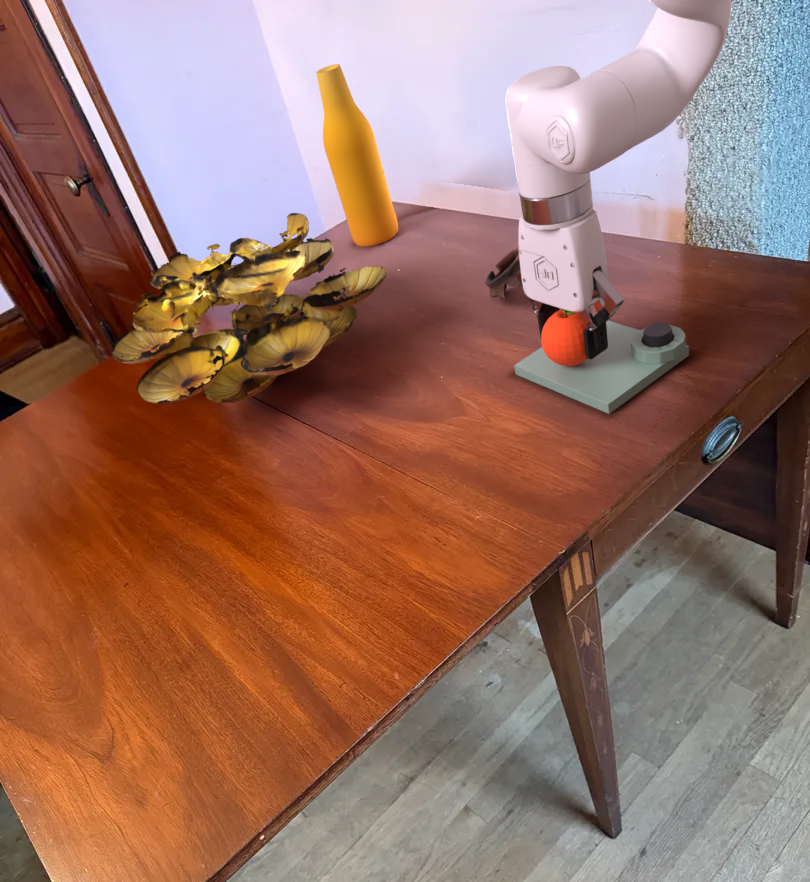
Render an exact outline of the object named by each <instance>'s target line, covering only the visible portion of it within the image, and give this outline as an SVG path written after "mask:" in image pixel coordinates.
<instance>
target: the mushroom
mask: <svg viewBox="0 0 810 882" xmlns="http://www.w3.org/2000/svg"><path fill="white" fill-rule="evenodd" d="M286 219H287V221H286V230H285V231H283V232H282V233H281V232H280V233H279V236H280V237H281V239H282V241H281V242H280V243H279V244H277V245H275V246H271V245H268V244H266V243H264V242H262V241H259V240H257V239H254V238H249V237H239V238H237V239H235V240H234V241H232V242H231V243H230V244H229V251H228V253H227V254H222V253H221V252H219V251H215V250H218V249H219V248H220V247H221V245H220V244H219V243H213V244H211V245H209V246H207V247H206V249H207V250H208V251H209V250H210V254H209V256H206V258H204V259H202V260H201V261H200V260H196V259H195V258H193V257H189V255H188V254H187V253H181V251H177V252H176V253H174V254H172V255H170V256H169V258H168V259H169V261H168V262H166V263H163V264H161V265H160V267H159V268H157V269H152V268H150V271H151V273H150V279H149V283H150V285H151V286H152V287H153V288H155V289H157V290H159V292H160V291H161V293H160V294H159V295H155V296H154V295H153V294H156V292H155V291H152V292H151V291H150V292H147V293H143V294H140V297H141V300H140V301H139V302H138V303H137V302H134V309H133V311H132V313H133V314H132V327H130V328H129V330H128V331H127V333H123V334H122V335H120V336H119V338H117V340H116V341H115V342H114V344H113V345H112V346H111V348H112V350H111V351H110V353H111V354H110V355H111V356H112V358H113V359H114V360H115V361H118V362H119V363H122V364H126V365H136V364H137V365H138V364H144V363H148V362H151V361H154V360H157V359H159V358H161V359H159V360H157V361H156V362H154V363H153V364H152V366H150V367H149V368H148V369H147V370H146V371H145V372H144V373H143V374H142V375H141V377H140V378H139V380H138V382H137V384H136V391H137V393H138V395H139V397H140V398H141V399H142V400H144V401H146V402H148V403H153V404H175V403H178V402H182V401H186V400H189V399H190V398H193V397H194V396H196V395H198V394H201V393H202V392H203V394H204V396H205V397H206V399H207V400H209V401H211V402H214V403H217V404H229V403H230V404H231V403H232V404H233V403H238V402H241V401H245V400H248V399H250V398H252V397H254V396H256V395H258V394H259V393H262V392H263V391H264V390H266V389H267V388H268V387H269V386H270V385H271V384H272V383H273V382H274V381H275V380H276V379H277V378H278V377H279V376H281V375H284V374H287V373H290V372H293V371H296V370H298V369H299V368H302V367H304V366H306V365H307V364H309V363H310V362H311V361H312V360H314V359H315V358H316V357H317V355H318V354H319V353H320V352H321V351H322V350H323V348H325V347H327V346H329V345H331V344H333V343H336V342H337V341H339V340H340V339H341V338H342V337H343V336H345V335H346V334H347V333H348V332H349V331H350V329H351V328H352V327H353V325H354V323H355V321H356V320H357V318H358V310H357V308H356V307H355V306H354V305H357V304H359V303H361V302H362V301H365V300H366V299H367V298H368V297H370V296H371V295H372V294H373V293H374V292H375V291H376V290H377V289H378V288H379V287H380V286H381V284H382V283H383V282H384V280H385V279H386V277H387V274H388V272H387V269H388V268H387V266H384V267H383V265H381V266H378V265H376V266H374V267H373V266H369V265H368V266H362V268H359V269H358V268H357V269H352V270H349V271H345V270H346V269H347V267H343V268H341V269H340V270H339V273H338V274H333V275H329V276H328V277H326V278H324V279H323V280H321V281H317V282H316V284H315V286H313V287H312V288H311V289H310V290H309V291H308V293H307V296H306V297H304V298H303V297H302V296H300V295H299V294H291V293H288V292H286V293H284V292H285V290H286V288H287V286H288V285H289V284H290V283H291V282H294V281H299V280H303V279H305V278H309V277H311V276H312V275H314V274H316V273H319V274H320V273H321V272H322V271H324V269H325V266H326V265H328V263H329V262H330V261H331V260H332V258H333V257H334V254H335V248H334V245H333V243H332V241H331V240H330V239H329V238H326V237H325V239H315V240H314V238H313V237H309V238H306V237H308V233H309V230H310V227H309V224H310V222H309V218H308V217H307V216H306V215H305V214H303V213H300V212H299V213H298V212H291V213H289V214H288V215H286ZM295 235H296V237H294V236H295ZM292 237H293V238H292ZM305 239H306V241H304V240H305ZM236 257H238V258H240V259H242V261H241V262H240V263H237V264H232V263H233V260H234V259H235V258H236ZM340 296H341V297H340ZM231 304H235V305H236V308H234V309H233V310H231V311H230V317H231V325H232V326H231V327H232V328H221V329H218V330H210V331H208V332H205V333H204V334H201V335H198V336H195V337H194V335H197V334H199V333H200V330H199V328H198V327H196V326H199V325H202V321H201V320H198V319H204V317H203V314H205V313H207V312H208V310H209V309H211V308H215V307H227V306H229V305H231ZM240 304H243V305H242V306H240ZM145 305H146V306H145ZM239 306H240V307H239ZM138 309H139V310H138ZM297 315H299V316H297ZM244 336H246V337H245V339H244Z"/></svg>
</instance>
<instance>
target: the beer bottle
mask: <svg viewBox="0 0 810 882" xmlns="http://www.w3.org/2000/svg"><path fill="white" fill-rule="evenodd" d="M315 74H316V79H317V84H318V89H319V93H320V98H321V103H322V108H323V125H322V141H323V142H322V143H323V148H324V152H325V155H326V158H327V161H328V165H329V168H330V171H331V174H332V177H333V180H334V183H335V186H336V190H337V193H338V197H339V200H340V202H341V206H342V209H343V212H344V215H345V218H346V222H347V226H348V228H349V232H350V237H351V238H352V241H353V242H354V244H355V245H356V246H358V247H362V248H366V247H367V248H368V247H374V246H378V245H381V244H384V243H386V242H388V241H390V240H391V239H393V238H394V237H395V236H396V235H397V234H398V232H399V223H398V218H397V215H396V212H395V211H396V210H395V209H394V208H395V207H394V204H393V201H392V197H391V194H390V190H389V186H388V183H387V178H386V175H385V172H384V171H385V170H384V168H383V167H384V166H383V164H382V160H381V157H380V152H379V150H378V149H379V148H378V146H377V141H376V138H375V133H374V130H373V128H372V126H371V124H370V122H369V120H368V119H367V117H366V116H365V115H364V113H363V112H362V111H361V109H360V108H359V107H358V105H357V104H356V102H355V100H354V98H353V95H352V93H351V91H350V88H349V85H348V83H347V80H346V77H345V75H344V72H343V70H342V67H341V65H340V64H339V63H335V64H330V65H327V66H324V67H322V68H320V69H318V70H317V71H316V73H315Z"/></svg>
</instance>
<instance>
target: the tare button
mask: <svg viewBox="0 0 810 882" xmlns="http://www.w3.org/2000/svg"><path fill="white" fill-rule="evenodd" d="M670 325H671V324H669V323H666V322H655V323H651V324H649V325H647V326H645V327H644V328H643V329H644V331H643V332H644V344H645V345H646V346H648V347H662V346H665V345H668V344H669V343H671V341H672V327H671V326H672V325H671V326H670Z"/></svg>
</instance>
